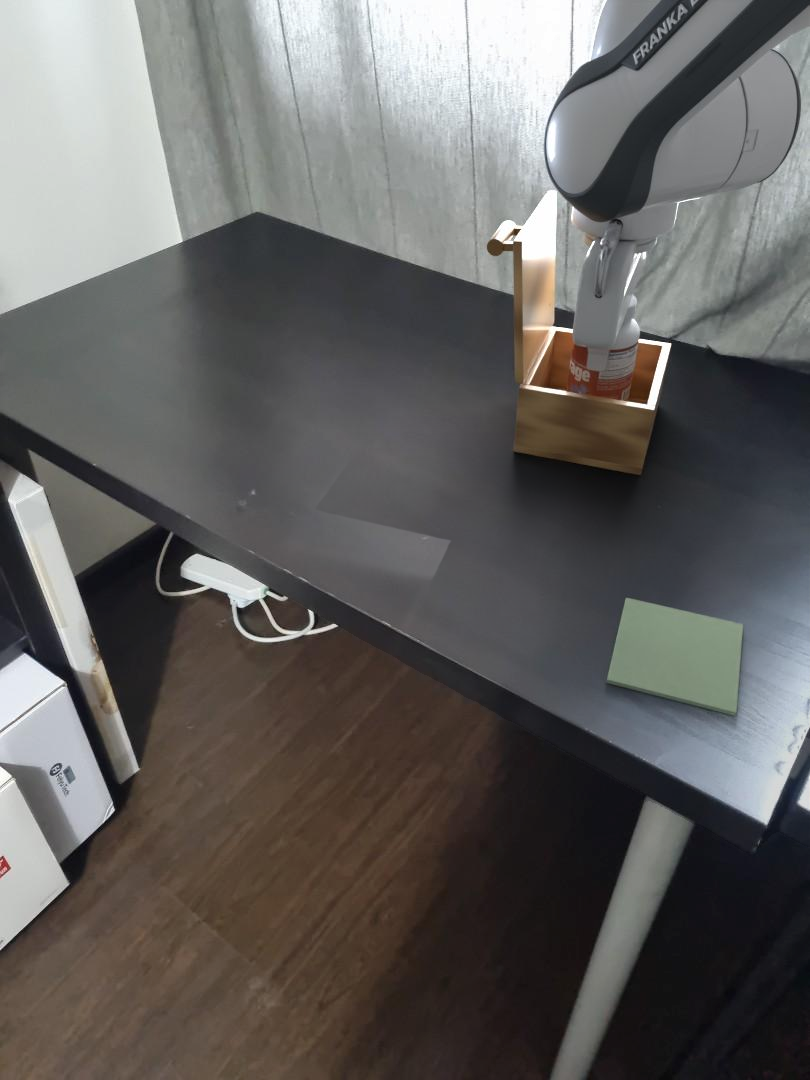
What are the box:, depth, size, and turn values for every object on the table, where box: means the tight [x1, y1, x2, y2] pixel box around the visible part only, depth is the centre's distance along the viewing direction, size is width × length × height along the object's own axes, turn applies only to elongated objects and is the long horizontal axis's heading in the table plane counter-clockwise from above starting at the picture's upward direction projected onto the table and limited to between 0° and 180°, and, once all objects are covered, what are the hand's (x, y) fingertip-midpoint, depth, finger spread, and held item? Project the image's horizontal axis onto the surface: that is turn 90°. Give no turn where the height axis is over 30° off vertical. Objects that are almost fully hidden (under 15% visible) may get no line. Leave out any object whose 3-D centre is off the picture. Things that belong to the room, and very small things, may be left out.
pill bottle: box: [567, 294, 641, 402], centre depth 80 cm, size 6×6×11 cm
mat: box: [606, 597, 744, 717], centre depth 62 cm, size 9×9×1 cm
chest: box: [513, 326, 672, 476], centre depth 84 cm, size 13×14×7 cm
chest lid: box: [486, 190, 557, 384], centre depth 79 cm, size 13×14×4 cm
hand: (604, 349), depth 80 cm, fingers closed on pill bottle, 6 cm apart
